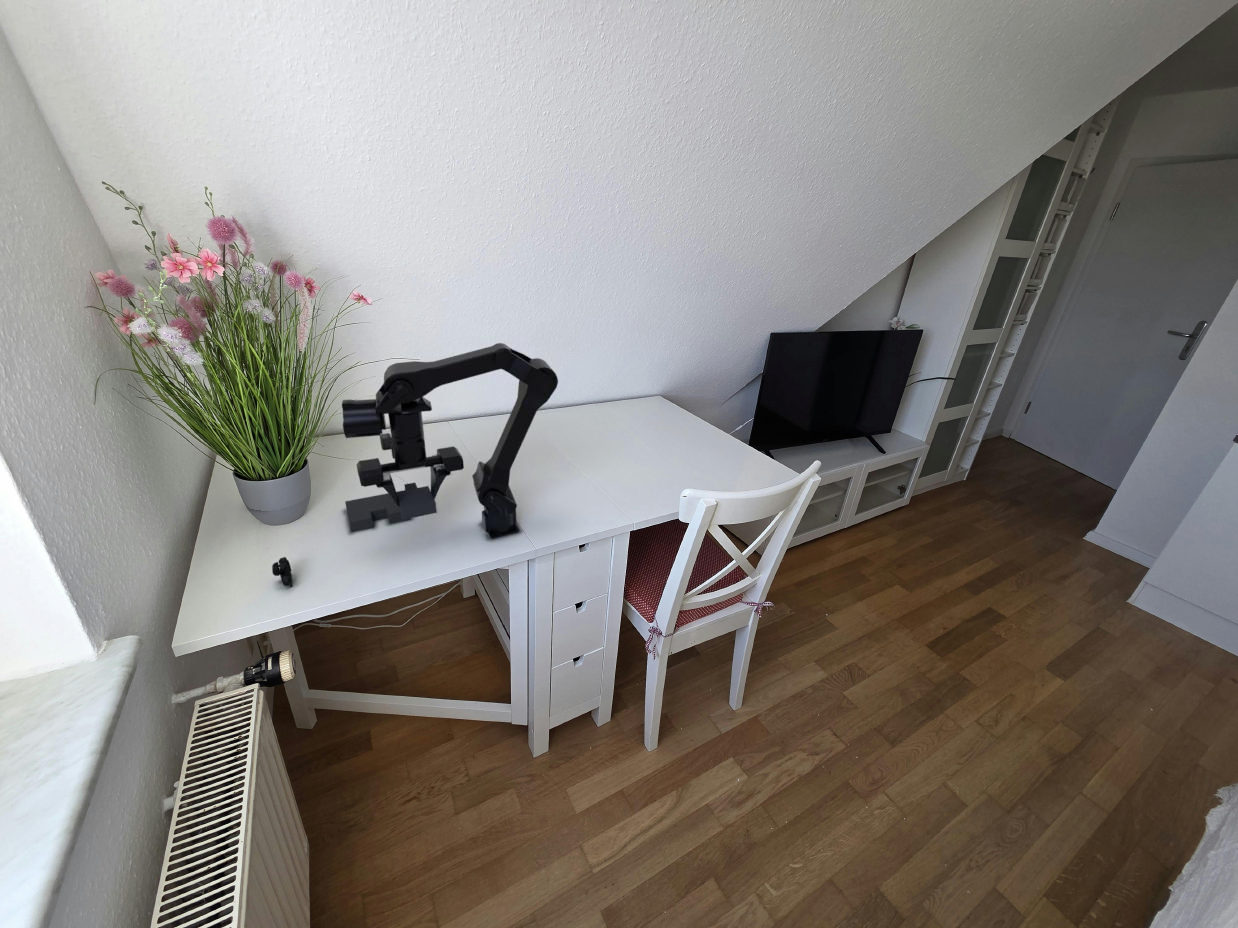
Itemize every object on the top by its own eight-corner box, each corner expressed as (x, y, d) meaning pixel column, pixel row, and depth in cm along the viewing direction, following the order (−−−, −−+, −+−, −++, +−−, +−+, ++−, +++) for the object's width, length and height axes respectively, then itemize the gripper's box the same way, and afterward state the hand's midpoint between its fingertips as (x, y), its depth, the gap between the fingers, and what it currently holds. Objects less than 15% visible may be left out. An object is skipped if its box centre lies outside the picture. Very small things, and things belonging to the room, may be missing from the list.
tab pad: (426, 490, 110) (425, 480, 108) (436, 512, 103) (435, 502, 101) (394, 496, 107) (393, 486, 105) (403, 520, 100) (401, 509, 98)
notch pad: (403, 499, 121) (402, 490, 120) (410, 519, 114) (409, 510, 113) (347, 510, 115) (345, 501, 114) (351, 532, 108) (349, 522, 107)
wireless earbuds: (294, 592, 92) (287, 571, 89) (277, 597, 91) (270, 575, 88) (292, 569, 97) (286, 548, 95) (276, 573, 96) (269, 552, 93)
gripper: (447, 410, 106) (453, 475, 114) (347, 422, 97) (360, 492, 105) (461, 431, 98) (466, 500, 105) (354, 446, 89) (367, 520, 96)
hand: (416, 502), depth 103 cm, fingers closed on tab pad, 6 cm apart
